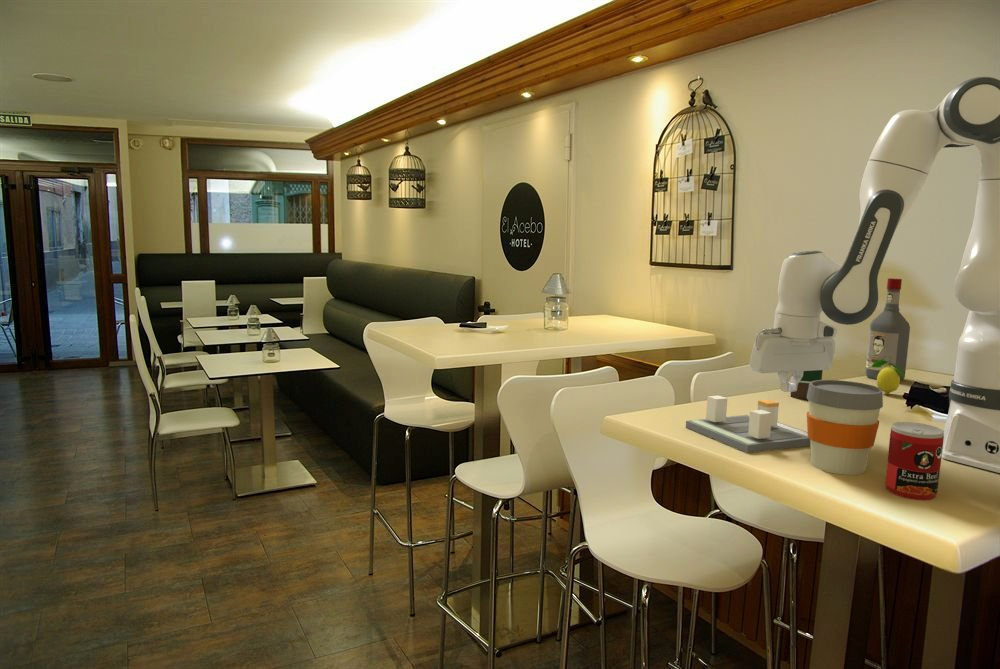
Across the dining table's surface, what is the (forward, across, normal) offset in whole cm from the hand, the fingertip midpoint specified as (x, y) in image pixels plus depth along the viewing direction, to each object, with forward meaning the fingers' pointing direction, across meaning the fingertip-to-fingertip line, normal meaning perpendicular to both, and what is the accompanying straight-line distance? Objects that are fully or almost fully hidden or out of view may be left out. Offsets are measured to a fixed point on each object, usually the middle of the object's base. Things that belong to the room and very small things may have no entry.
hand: (788, 391), depth 156 cm
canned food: (+8, -8, -36) cm, 38 cm away
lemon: (+9, +55, +20) cm, 59 cm away
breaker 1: (+7, -14, +6) cm, 17 cm away
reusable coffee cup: (+8, -9, -22) cm, 25 cm away
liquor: (+9, +74, +36) cm, 83 cm away
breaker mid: (+7, -6, -1) cm, 9 cm away
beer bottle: (+9, +30, +24) cm, 39 cm away
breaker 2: (+7, -14, -7) cm, 17 cm away
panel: (+9, -10, -1) cm, 13 cm away
